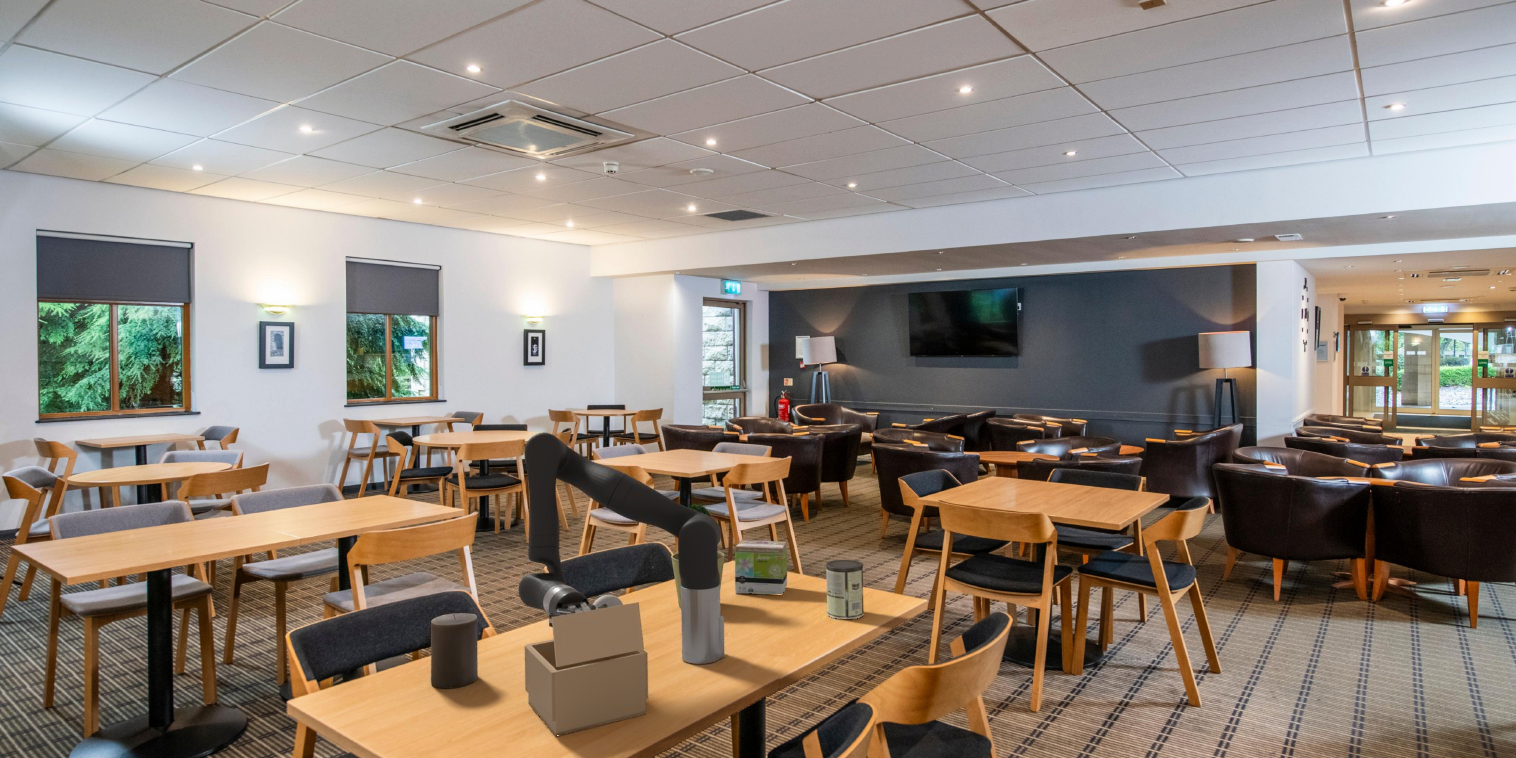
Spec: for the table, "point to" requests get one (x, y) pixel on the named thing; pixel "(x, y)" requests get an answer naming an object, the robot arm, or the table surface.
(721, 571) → the potted cactus
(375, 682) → the table surface
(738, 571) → the tea box
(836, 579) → the coffee can
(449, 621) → the pillar candle
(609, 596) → the donut
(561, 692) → the carton
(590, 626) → the carton flap
